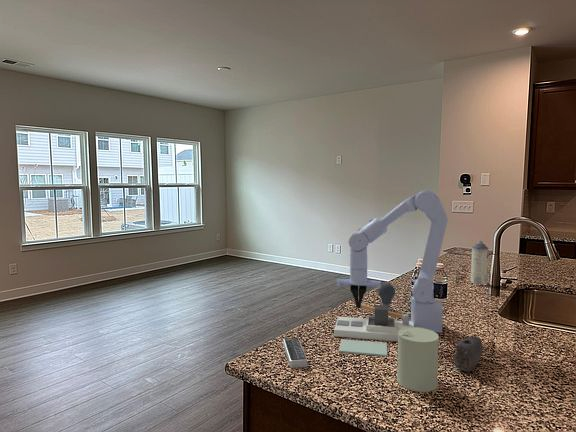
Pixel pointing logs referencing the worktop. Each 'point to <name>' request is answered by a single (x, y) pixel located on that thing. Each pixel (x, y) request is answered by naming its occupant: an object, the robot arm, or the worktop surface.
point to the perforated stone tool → (468, 353)
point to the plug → (381, 317)
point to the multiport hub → (294, 352)
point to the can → (418, 359)
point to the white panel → (368, 328)
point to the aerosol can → (479, 264)
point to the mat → (363, 347)
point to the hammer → (391, 314)
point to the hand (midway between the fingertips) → (358, 307)
